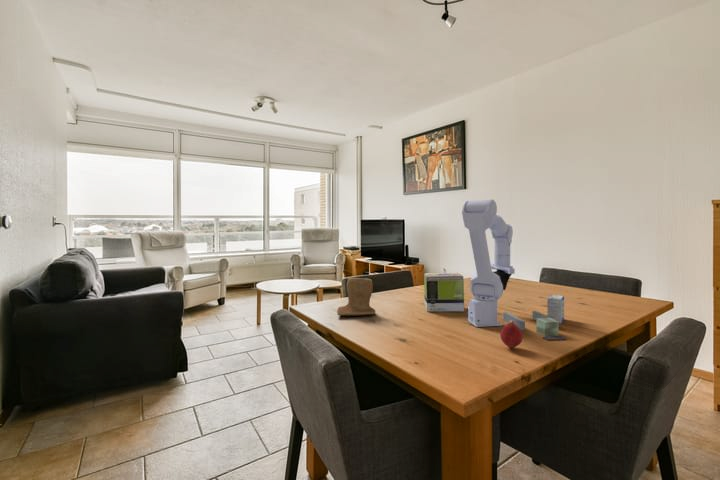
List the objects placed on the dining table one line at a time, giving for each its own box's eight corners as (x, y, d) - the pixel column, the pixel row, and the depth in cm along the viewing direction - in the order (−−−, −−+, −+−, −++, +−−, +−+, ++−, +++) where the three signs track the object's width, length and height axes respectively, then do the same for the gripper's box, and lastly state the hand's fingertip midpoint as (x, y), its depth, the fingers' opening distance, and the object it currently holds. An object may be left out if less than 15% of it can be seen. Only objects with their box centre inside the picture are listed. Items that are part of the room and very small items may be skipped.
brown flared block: (373, 310, 143) (373, 274, 142) (376, 317, 131) (376, 278, 130) (337, 311, 142) (336, 275, 141) (337, 319, 130) (336, 280, 129)
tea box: (459, 306, 147) (459, 272, 146) (464, 312, 137) (464, 275, 136) (424, 306, 148) (423, 272, 148) (426, 312, 138) (426, 275, 138)
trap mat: (547, 340, 103) (547, 339, 103) (542, 338, 105) (542, 336, 105) (566, 339, 103) (566, 338, 103) (561, 337, 106) (561, 335, 106)
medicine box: (561, 324, 119) (561, 299, 119) (546, 322, 122) (547, 298, 121) (564, 319, 125) (564, 295, 125) (550, 317, 128) (550, 294, 128)
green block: (544, 336, 107) (545, 322, 107) (536, 332, 112) (536, 318, 111) (558, 336, 107) (558, 321, 107) (549, 331, 112) (549, 318, 112)
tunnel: (521, 330, 113) (521, 321, 113) (503, 320, 125) (503, 312, 125) (557, 328, 114) (557, 319, 114) (535, 318, 126) (535, 310, 126)
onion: (521, 353, 93) (521, 324, 93) (498, 349, 96) (498, 321, 96) (523, 347, 98) (524, 319, 98) (502, 343, 101) (502, 316, 101)
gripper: (522, 256, 126) (522, 293, 127) (502, 253, 141) (502, 286, 141) (504, 257, 126) (504, 293, 126) (486, 253, 140) (486, 286, 141)
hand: (502, 289), depth 134 cm, fingers closed
